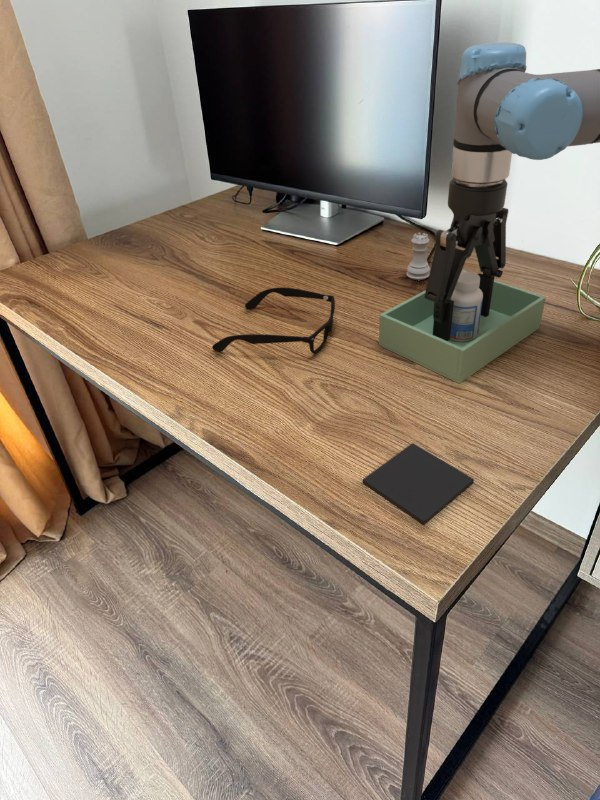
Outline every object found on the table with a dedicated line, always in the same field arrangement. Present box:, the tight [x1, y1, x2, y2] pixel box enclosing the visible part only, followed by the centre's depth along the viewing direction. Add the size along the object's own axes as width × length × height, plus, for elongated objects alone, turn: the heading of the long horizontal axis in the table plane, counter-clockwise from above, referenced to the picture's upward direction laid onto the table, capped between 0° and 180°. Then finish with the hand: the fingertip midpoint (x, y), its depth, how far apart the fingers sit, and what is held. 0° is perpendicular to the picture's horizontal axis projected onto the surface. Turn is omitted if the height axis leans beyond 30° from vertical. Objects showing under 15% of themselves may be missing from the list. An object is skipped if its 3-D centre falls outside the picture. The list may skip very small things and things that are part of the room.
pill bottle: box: [450, 271, 483, 342], centre depth 90 cm, size 6×5×10 cm
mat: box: [362, 443, 475, 526], centre depth 68 cm, size 9×9×1 cm
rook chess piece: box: [405, 232, 431, 281], centre depth 109 cm, size 4×4×8 cm
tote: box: [378, 269, 547, 384], centre depth 91 cm, size 15×21×6 cm
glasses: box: [211, 287, 336, 355], centre depth 96 cm, size 17×18×5 cm
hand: (461, 325), depth 92 cm, fingers open, 9 cm apart
